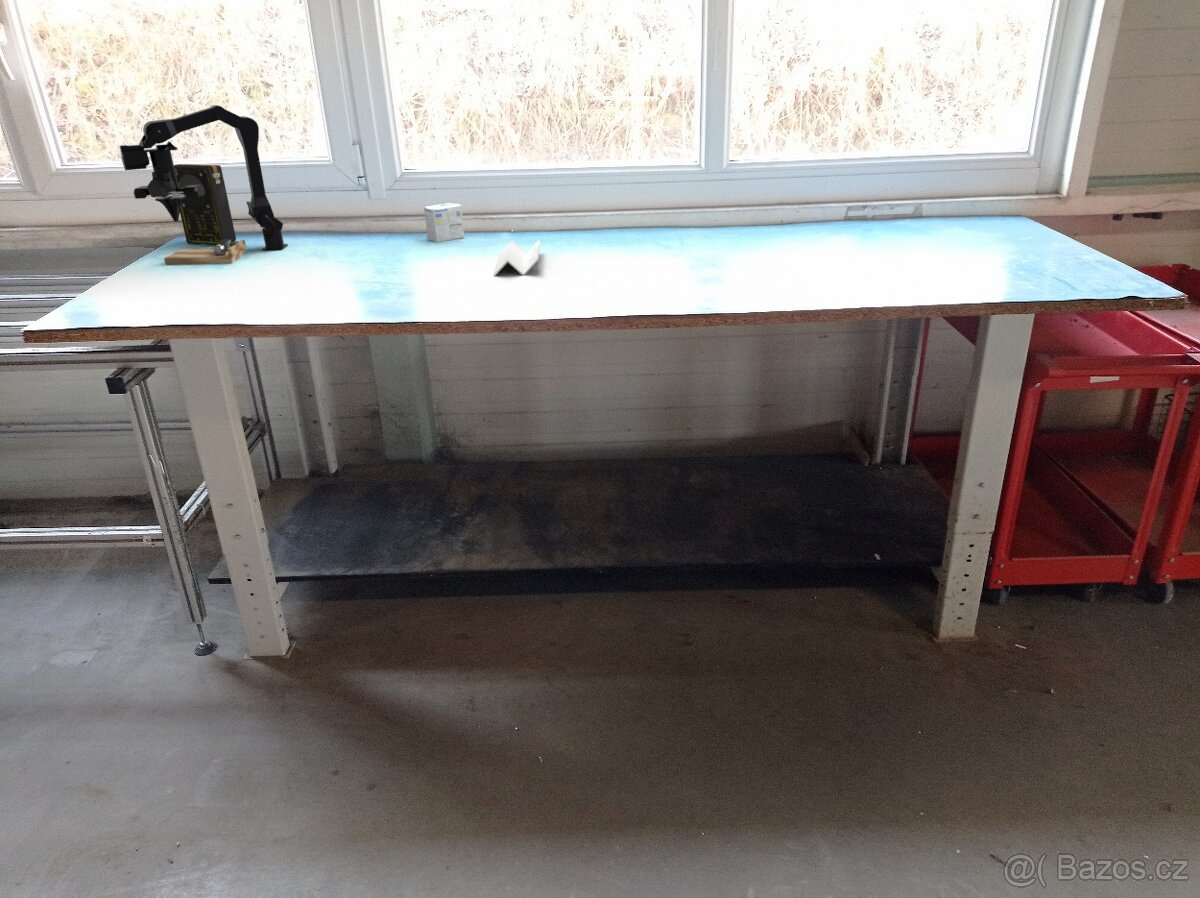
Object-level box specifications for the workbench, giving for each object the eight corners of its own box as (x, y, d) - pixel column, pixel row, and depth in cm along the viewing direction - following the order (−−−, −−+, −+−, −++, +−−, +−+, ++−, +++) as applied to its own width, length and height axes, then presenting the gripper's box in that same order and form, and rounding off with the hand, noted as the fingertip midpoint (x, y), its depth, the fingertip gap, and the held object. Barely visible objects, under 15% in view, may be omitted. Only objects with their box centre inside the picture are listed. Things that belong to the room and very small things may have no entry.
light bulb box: (454, 234, 288) (451, 201, 283) (465, 237, 283) (462, 204, 278) (426, 239, 282) (423, 206, 277) (436, 242, 277) (433, 209, 272)
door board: (182, 255, 268) (179, 241, 266) (247, 253, 269) (245, 239, 267) (165, 264, 257) (162, 250, 255) (233, 263, 258) (230, 249, 256)
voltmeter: (183, 244, 282) (165, 166, 271) (201, 239, 289) (184, 162, 278) (223, 247, 278) (206, 167, 266) (240, 241, 285) (224, 163, 274)
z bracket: (509, 291, 241) (492, 276, 238) (513, 268, 263) (498, 254, 261) (538, 260, 237) (521, 244, 235) (540, 240, 259) (524, 225, 257)
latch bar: (224, 255, 257) (222, 245, 256) (213, 255, 257) (211, 246, 256) (233, 246, 267) (232, 237, 266) (223, 247, 267) (221, 238, 266)
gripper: (118, 172, 242) (132, 227, 249) (184, 170, 242) (196, 225, 249) (136, 166, 252) (149, 219, 259) (199, 164, 252) (211, 218, 259)
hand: (176, 221), depth 256 cm, fingers closed
